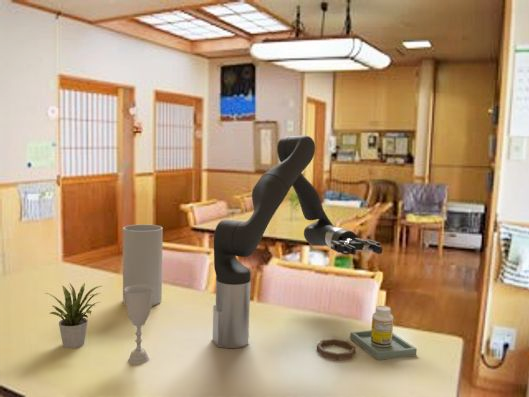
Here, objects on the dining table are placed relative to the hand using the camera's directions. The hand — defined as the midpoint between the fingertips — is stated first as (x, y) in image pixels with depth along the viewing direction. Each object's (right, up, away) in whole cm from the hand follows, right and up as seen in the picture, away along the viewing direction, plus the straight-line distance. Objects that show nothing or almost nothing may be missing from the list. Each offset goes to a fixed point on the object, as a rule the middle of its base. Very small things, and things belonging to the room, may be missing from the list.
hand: (367, 250), depth 142 cm
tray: (+2, -25, -7) cm, 26 cm away
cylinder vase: (-70, -20, +23) cm, 76 cm away
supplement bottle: (+2, -25, -7) cm, 26 cm away
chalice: (-61, -25, -20) cm, 69 cm away
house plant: (-78, -23, -13) cm, 82 cm away
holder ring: (-11, -25, -11) cm, 30 cm away
